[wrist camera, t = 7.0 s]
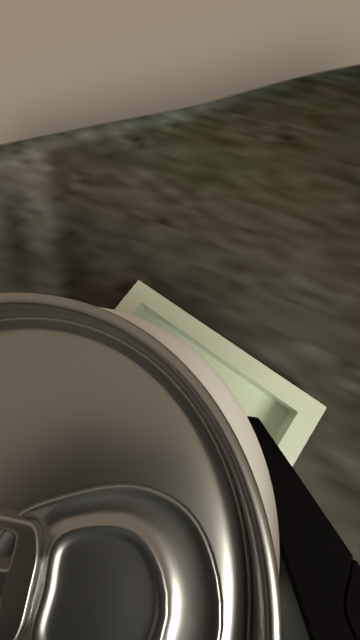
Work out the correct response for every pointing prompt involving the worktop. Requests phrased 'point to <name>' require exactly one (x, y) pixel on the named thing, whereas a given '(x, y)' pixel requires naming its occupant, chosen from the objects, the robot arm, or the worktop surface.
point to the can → (126, 485)
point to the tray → (236, 372)
